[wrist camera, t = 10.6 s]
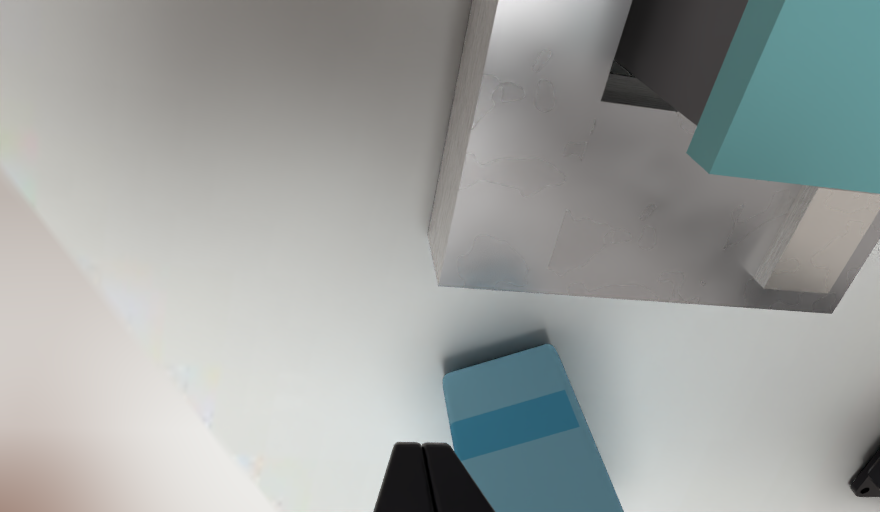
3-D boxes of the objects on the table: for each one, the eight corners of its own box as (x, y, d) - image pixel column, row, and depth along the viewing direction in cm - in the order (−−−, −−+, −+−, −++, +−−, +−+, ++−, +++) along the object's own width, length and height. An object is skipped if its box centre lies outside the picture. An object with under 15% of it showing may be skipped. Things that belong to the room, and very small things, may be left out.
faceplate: (1018, -162, 17) (1161, -163, 14) (782, 265, 24) (843, 324, 21) (527, -292, 14) (575, -327, 11) (427, 235, 22) (440, 297, 19)
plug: (793, -92, 17) (1071, -52, 11) (722, 79, 20) (913, 197, 13) (634, -127, 16) (831, -106, 10) (581, 57, 19) (709, 173, 12)
